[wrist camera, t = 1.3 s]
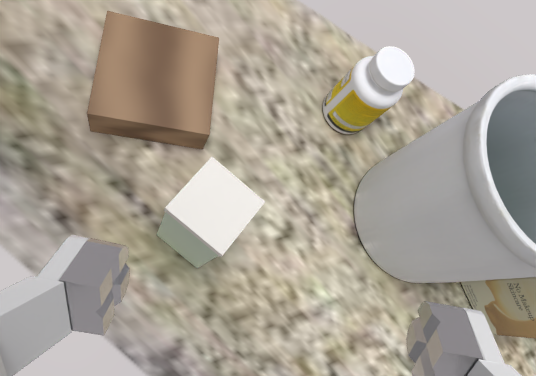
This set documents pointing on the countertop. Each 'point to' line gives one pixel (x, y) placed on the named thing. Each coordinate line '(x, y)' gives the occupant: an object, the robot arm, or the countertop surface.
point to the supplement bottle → (368, 90)
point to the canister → (208, 214)
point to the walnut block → (153, 82)
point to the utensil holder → (458, 195)
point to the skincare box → (505, 304)
